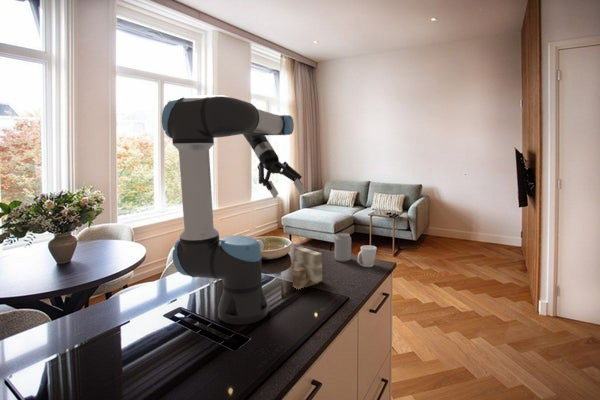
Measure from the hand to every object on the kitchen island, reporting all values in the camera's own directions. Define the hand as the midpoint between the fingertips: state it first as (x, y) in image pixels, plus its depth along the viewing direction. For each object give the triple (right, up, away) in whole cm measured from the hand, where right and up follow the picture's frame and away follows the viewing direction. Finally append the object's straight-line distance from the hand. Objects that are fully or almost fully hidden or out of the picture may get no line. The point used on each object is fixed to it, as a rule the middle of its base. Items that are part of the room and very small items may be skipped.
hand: (290, 194), depth 130 cm
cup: (+32, -31, +15) cm, 47 cm away
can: (+23, -30, +24) cm, 45 cm away
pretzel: (-19, -30, +28) cm, 45 cm away
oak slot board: (+7, -34, -5) cm, 35 cm away
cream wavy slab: (+7, -31, -6) cm, 32 cm away
